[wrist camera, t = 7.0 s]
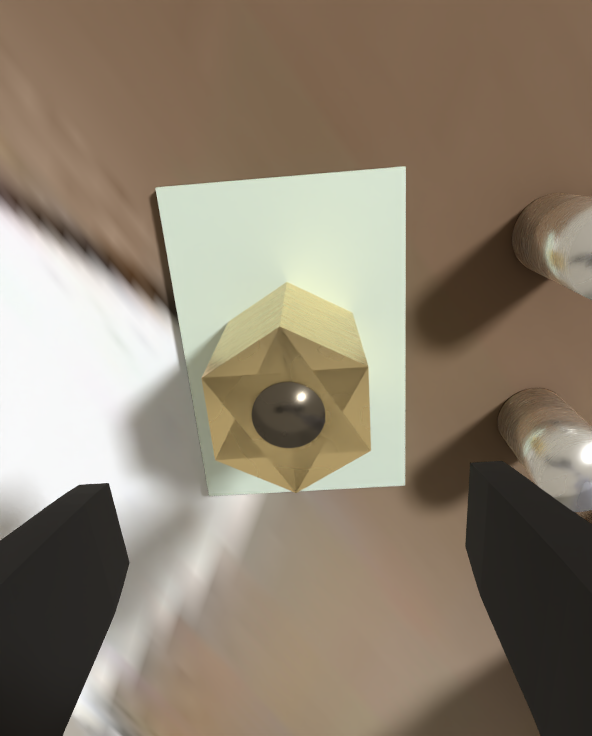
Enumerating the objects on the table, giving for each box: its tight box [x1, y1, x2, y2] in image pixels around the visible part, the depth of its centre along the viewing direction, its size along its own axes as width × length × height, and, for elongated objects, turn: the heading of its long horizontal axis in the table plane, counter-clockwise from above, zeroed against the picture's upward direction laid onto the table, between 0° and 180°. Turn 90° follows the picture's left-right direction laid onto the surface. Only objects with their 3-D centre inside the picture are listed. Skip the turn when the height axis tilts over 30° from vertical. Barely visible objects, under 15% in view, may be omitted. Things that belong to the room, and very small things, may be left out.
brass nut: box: [201, 282, 371, 493], centre depth 16 cm, size 5×4×5 cm
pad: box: [156, 167, 406, 496], centre depth 19 cm, size 12×8×1 cm, turn 5°
